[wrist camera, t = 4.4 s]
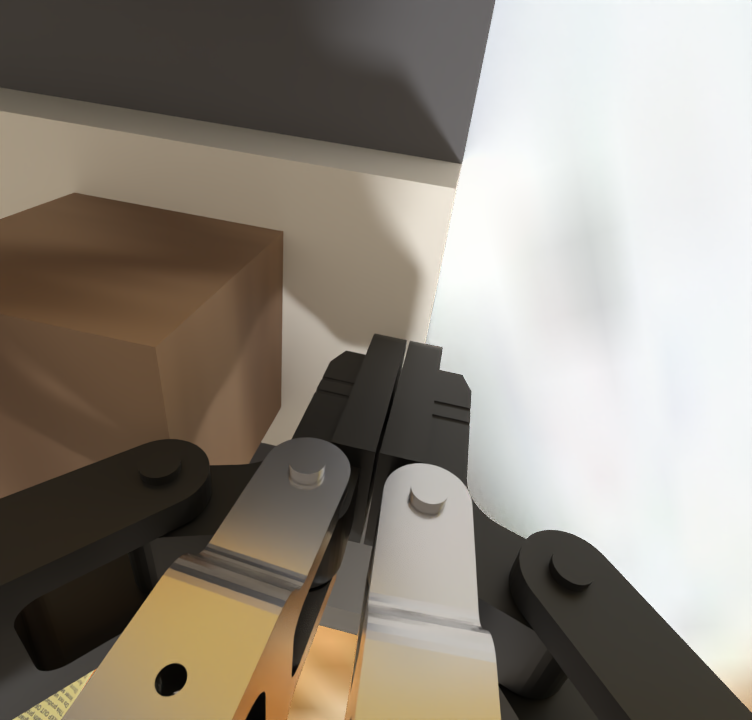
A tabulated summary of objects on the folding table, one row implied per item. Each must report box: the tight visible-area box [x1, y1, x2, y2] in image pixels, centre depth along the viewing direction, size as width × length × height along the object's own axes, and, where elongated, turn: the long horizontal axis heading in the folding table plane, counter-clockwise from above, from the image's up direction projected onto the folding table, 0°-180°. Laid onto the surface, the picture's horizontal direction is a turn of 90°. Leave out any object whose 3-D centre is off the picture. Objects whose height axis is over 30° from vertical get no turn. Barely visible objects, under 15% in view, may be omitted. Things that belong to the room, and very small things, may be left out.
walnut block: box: [0, 193, 283, 498], centre depth 10 cm, size 5×5×5 cm
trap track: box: [0, 0, 495, 635], centre depth 13 cm, size 22×18×6 cm
